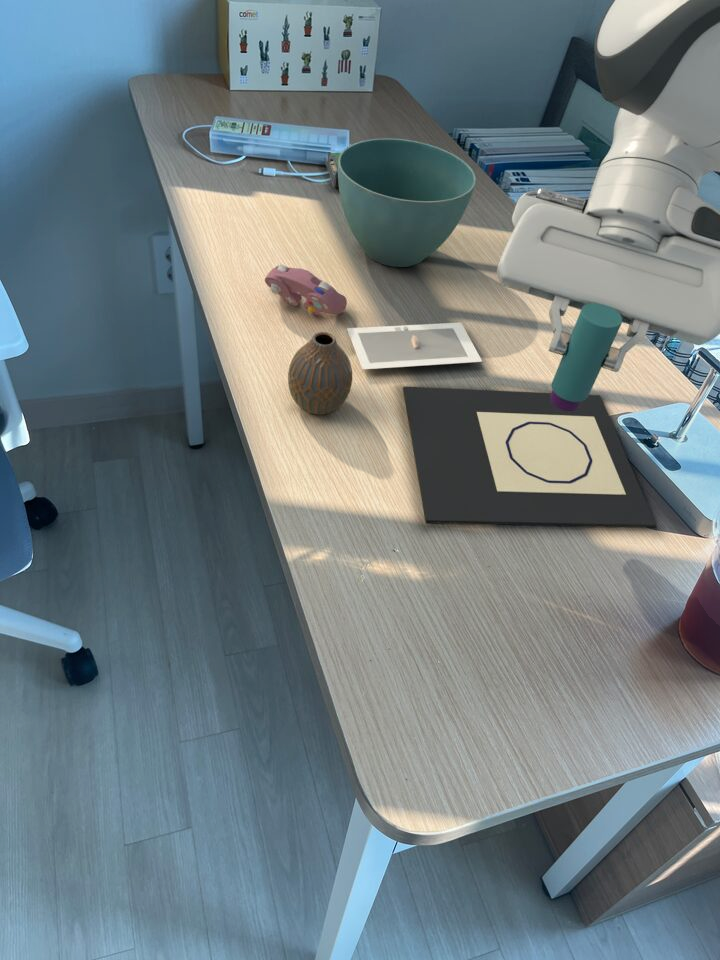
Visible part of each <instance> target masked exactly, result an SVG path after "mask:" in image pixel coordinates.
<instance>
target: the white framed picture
mask: <svg viewBox="0 0 720 960" xmlns="http://www.w3.org/2000/svg"><path fill="white" fill-rule="evenodd" d="M346 330H347V332H348V335H349V338H350V341H351V343H352V346H353V348H354V351H355V354H356V356H357V359H358V362H359V364H360V367H361V369H362V370H378V369H393V368H405V367H406V368H407V367H409V368H410V367H422V366H438V365H439V366H440V365H453V364H468V363H469V364H470V363H482V362H483V360H482V358H481V356H480V355H479V352H478V350H477V349H476V347H475V346H474V343H473V342H472V339H471V338H470V336H469V334H468V333H467V330H466V329H465V327H464V325H463V323H462V322H443V323H423V324H407V325H406V324H405V325H388V326H387V325H386V326H385V325H384V326H367V327H348V328H346Z"/></svg>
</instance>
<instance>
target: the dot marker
mask: <svg viewBox="0 0 720 960" xmlns="http://www.w3.org/2000/svg"><path fill="white" fill-rule="evenodd" d="M622 324H623V322H622V316H621V315H620V313H619V312H618V311H616V310H615V309H614V308H612V307H609V306H605V305H602V304H599V303H589V304H586V305H584V306H583V307H582V309H581V310H580V312H579V314H578V317H577V319H576V322H575V324H574V327H573V329H572V332H571V333H570V334H571V337H570V341H569V342H568V344H567V345H568V347H567V350H566V352H565V354H564V355H561V359H560V361H559V364H558V366H557V369H556V371H555V374H554V376H553V378H552V382H551V389H552V390H551V392H550V393H551V395H550V401H551V403H552V404H553V405H554V406H555V407H557V408H558V409H560V410H563V411H568V412H571V411H576V410H577V409H579V408H580V406H581V403H582V401H584V400H585V399H587V398H588V396H589V395H591V392H592V389H593V387H594V385H595V383H596V381H597V378H598V376H599V374H600V372H601V370H602V365H603V363H604V361H605V359H606V357H607V354H608V352H609V350H610V348H611V347H613V343H614V341H615V339H616V337H617V334H618V332H619V330H620V328H621V326H622Z"/></svg>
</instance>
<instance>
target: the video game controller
mask: <svg viewBox="0 0 720 960" xmlns="http://www.w3.org/2000/svg"><path fill="white" fill-rule="evenodd" d="M264 282H265V284H266V285H267V287H268V288H269V290H270V291H271V292H272V293H273V294H276V295H278V296H279V297H281V298H282V299H283V300H284V302H286V304H288V305H290V306H292V307H296V306H298V305H299V303H300V302H301V301H302V298H305V302H304V303H303V308H304V309H305V310H306V311H307V312H308V313H309V314H311V315H314V316H319V315H320V314H321V313H323V314H331V315H340V314H343V313H344V312H345V311H346V308H347V304H348V301H347V297H346V296H344V295H343V294H341V293H340V292H338V291H337V290H336V289H335V288H334V286H332V285H330V284H329V283H328V282H326V281H323V280H322V279H320V278H318V276H316V275H315V274H313V272H311V271H309V270H307V269H305V268H297V267H289V266H287V265H285V264H283V263H280V264H279V265H276V266H275V267H273V268H272V269H271V270H270V271H269V272H268V273H267V275H265V277H264Z"/></svg>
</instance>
